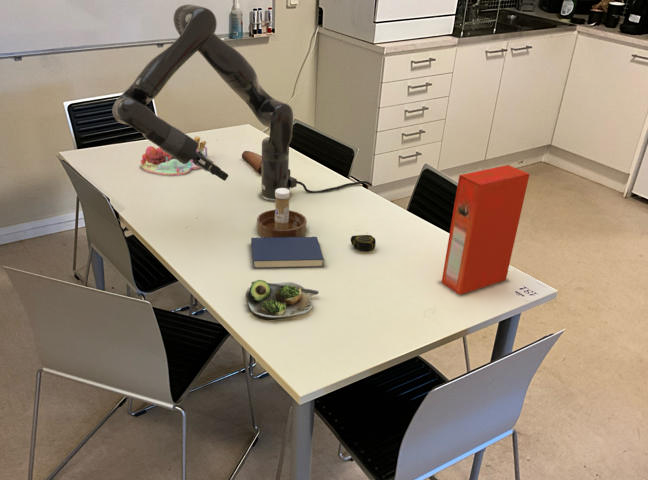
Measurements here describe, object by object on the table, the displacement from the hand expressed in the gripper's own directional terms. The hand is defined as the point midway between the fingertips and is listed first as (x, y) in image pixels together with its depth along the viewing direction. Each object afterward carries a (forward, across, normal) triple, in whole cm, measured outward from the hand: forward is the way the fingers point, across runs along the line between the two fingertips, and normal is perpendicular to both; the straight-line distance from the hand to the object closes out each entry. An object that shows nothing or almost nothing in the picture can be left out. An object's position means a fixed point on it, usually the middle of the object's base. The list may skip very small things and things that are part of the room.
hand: (222, 174), depth 199 cm
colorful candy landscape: (+5, +63, +8) cm, 64 cm away
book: (+23, -19, +9) cm, 31 cm away
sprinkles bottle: (+25, -3, +4) cm, 26 cm away
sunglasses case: (+29, +52, -9) cm, 60 cm away
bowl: (+25, -3, +4) cm, 26 cm away
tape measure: (+42, -21, -6) cm, 48 cm away
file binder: (+62, -48, -16) cm, 80 cm away
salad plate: (+17, -42, +19) cm, 49 cm away
